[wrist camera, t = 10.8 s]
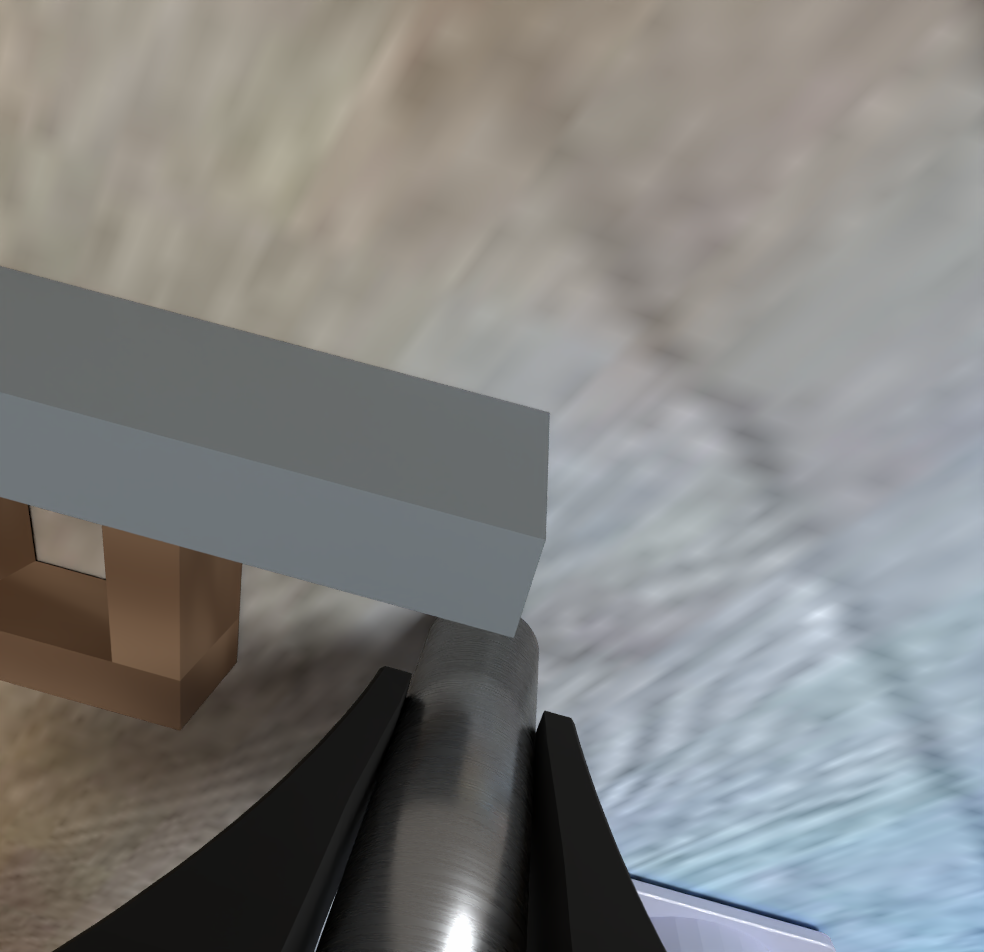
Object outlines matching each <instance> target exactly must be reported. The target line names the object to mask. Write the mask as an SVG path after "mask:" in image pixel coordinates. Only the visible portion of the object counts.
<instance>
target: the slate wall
mask: <svg viewBox="0 0 984 952" xmlns="http://www.w3.org/2000/svg"><path fill="white" fill-rule="evenodd" d="M549 417H550V413H549V412H545V411H541V410H538V409H534V408H530V407H526V406H523V405H519V404H515V403H511V402H508V401H504V400H500V399H496V398H493V397H489V396H485V395H481V394H478V393H474V392H470V391H466V390H463V389H459V388H455V387H451V386H448V385H444V384H440V383H436V382H433V381H429V380H425V379H421V378H418V377H414V376H410V375H406V374H403V373H399V372H395V371H391V370H388V369H384V368H380V367H376V366H373V365H369V364H365V363H361V362H358V361H354V360H350V359H346V358H343V357H339V356H335V355H331V354H328V353H324V352H320V351H316V350H313V349H309V348H305V347H301V346H298V345H294V344H290V343H286V342H283V341H279V340H275V339H271V338H268V337H264V336H260V335H256V334H253V333H249V332H245V331H241V330H238V329H234V328H230V327H226V326H223V325H219V324H215V323H211V322H208V321H204V320H200V319H196V318H193V317H189V316H185V315H181V314H178V313H174V312H170V311H166V310H163V309H159V308H155V307H151V306H148V305H144V304H140V303H136V302H133V301H129V300H125V299H121V298H118V297H114V296H110V295H106V294H103V293H99V292H95V291H91V290H88V289H84V288H80V287H76V286H73V285H69V284H65V283H61V282H58V281H54V280H50V279H47V278H43V277H39V276H35V275H32V274H28V273H24V272H20V271H17V270H13V269H9V268H5V267H2V266H0V497H2V498H6V499H10V500H13V501H17V502H21V503H24V504H28V505H31V506H35V507H39V508H42V509H46V510H50V511H53V512H57V513H61V514H64V515H68V516H72V517H75V518H79V519H82V520H86V521H90V522H93V523H97V524H101V525H104V526H108V527H112V528H115V529H119V530H123V531H126V532H130V533H133V534H137V535H141V536H144V537H148V538H152V539H155V540H159V541H163V542H166V543H170V544H174V545H177V546H181V547H184V548H188V549H192V550H195V551H199V552H203V553H206V554H210V555H214V556H217V557H221V558H225V559H228V560H232V561H235V562H239V563H243V564H246V565H250V566H254V567H257V568H261V569H265V570H268V571H272V572H276V573H279V574H283V575H286V576H290V577H294V578H297V579H301V580H305V581H308V582H312V583H316V584H319V585H323V586H327V587H330V588H334V589H337V590H341V591H345V592H348V593H352V594H356V595H359V596H363V597H367V598H370V599H374V600H378V601H381V602H385V603H388V604H392V605H396V606H399V607H403V608H407V609H410V610H414V611H418V612H421V613H425V614H429V615H432V616H436V617H439V618H443V619H447V620H450V621H454V622H458V623H461V624H465V625H469V626H472V627H476V628H480V629H483V630H487V631H490V632H494V633H498V634H501V635H505V636H509V637H512V638H514V636H515V633H516V629H517V626H518V623H519V620H520V617H521V614H522V611H523V608H524V605H525V602H526V599H527V596H528V593H529V590H530V587H531V584H532V580H533V577H534V574H535V571H536V568H537V565H538V562H539V559H540V556H541V553H542V550H543V547H544V544H545V541H546V514H547V482H548V450H549Z"/></svg>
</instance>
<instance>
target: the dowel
mask: <svg viewBox="0 0 984 952" xmlns="http://www.w3.org/2000/svg"><path fill="white" fill-rule="evenodd" d="M538 661H539V648H538V643H537V639H536V637H535V635H534V633H533V631H532V629H531V628H530V627H529V625H528V624H527V623H526V622H525V621H524V620H523V619H522V618H521V617H520V620H519V623H518V626H517V629H516V633H515V636H514V638H512V637H509V636H505V635H501V634H498V633H494V632H490V631H487V630H483V629H480V628H476V627H472V626H469V625H465V624H461V623H458V622H454V621H450V620H447V619H443V618H439V617H438V618H437V619H436V620H435V622H434V623H433V625H432V627H431V629H430V631H429V634H428V637H427V640H426V643H425V645H424V648H423V651H422V654H421V657H420V659H419V662H418V665H417V668H416V671H415V674H414V676H413V679H412V682H411V685H410V688H409V690H408V693H407V696H406V700H405V703H404V706H403V708H402V711H401V714H400V717H399V720H398V722H397V725H396V728H395V731H394V734H393V737H392V739H391V742H390V744H389V747H388V749H387V752H386V755H385V758H384V761H383V764H382V766H381V769H380V772H379V775H378V778H377V780H376V783H375V786H374V789H373V792H372V794H371V797H370V800H369V803H368V806H367V809H366V811H365V814H364V817H363V820H362V823H361V825H360V828H359V831H358V834H357V837H356V839H355V842H354V845H353V848H352V851H351V854H350V856H349V859H348V862H347V865H346V868H345V870H344V873H343V876H342V879H341V882H340V885H339V887H338V890H337V893H336V896H335V899H334V901H333V904H332V907H331V910H330V913H329V915H328V918H327V921H326V924H325V927H324V930H323V932H322V935H321V938H320V941H319V944H318V946H317V949H316V952H526V948H527V924H528V900H529V876H530V852H531V829H532V805H533V781H534V757H535V733H536V709H537V685H538Z"/></svg>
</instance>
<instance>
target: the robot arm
mask: <svg viewBox="0 0 984 952" xmlns="http://www.w3.org/2000/svg"><path fill="white" fill-rule="evenodd" d="M411 675H412V674H411V673H408V672H404V671H400V670H397V669H393V668H390V667H386V666H385V667H383V668H381V669H379V671H378V672H377V674H376V675H375V677H374V678H373V680H372V681H371V682H370V684H369V685H368V687H367V688H366V689H365V690H364V692H363V693H362V694H361V696H360V697H359V698H358V699H357V701H356V702H355V703H354V704H353V705H352V706H351V708H350V709H349V710H348V711H347V712H346V714H345V715H344V716H343V717H342V718H341V719H340V720H339V721H338V722H337V724H336V725H335V726H334V727H333V728H332V729H331V730H330V731H329V732H328V733H327V735H326V736H325V737H324V738H323V739H322V740H321V741H320V742H319V743H318V744H317V745H316V746H315V747H314V748H313V749H312V750H311V751H310V752H309V753H308V754H307V755H306V756H305V757H304V758H303V759H302V760H301V761H300V762H299V763H298V764H297V765H296V766H295V767H294V768H293V769H292V770H291V771H290V772H289V773H288V774H287V775H286V776H285V777H284V778H283V779H282V780H281V781H280V782H278V783H277V784H276V785H275V786H274V787H273V788H272V789H271V790H270V791H269V792H268V793H266V794H265V795H264V796H263V797H262V798H261V799H260V800H259V801H257V802H256V803H255V804H254V805H253V806H252V807H250V808H249V809H248V810H247V811H246V812H245V813H244V814H242V815H241V816H240V817H239V818H238V819H236V820H235V821H234V822H233V823H232V824H230V825H229V826H228V827H227V828H225V829H224V830H223V831H222V832H220V833H219V834H218V835H217V836H215V837H214V838H213V839H212V840H210V841H209V842H208V843H207V844H206V845H204V846H203V847H202V848H201V849H199V850H198V851H197V852H195V853H194V854H193V855H191V856H190V857H189V858H188V859H186V860H185V861H184V862H182V863H181V864H180V865H178V866H177V867H176V868H174V869H173V870H171V871H170V872H169V873H167V874H166V875H164V876H163V877H162V878H160V879H159V880H157V881H156V882H155V883H153V884H152V885H150V886H149V887H148V888H146V889H145V890H143V891H142V892H141V893H139V894H138V895H136V896H135V897H134V898H132V899H131V900H129V901H128V902H127V903H125V904H124V905H122V906H121V907H120V908H118V909H117V910H115V911H114V912H112V913H111V914H109V915H108V916H106V917H105V918H103V919H102V920H101V921H99V922H98V923H96V924H94V925H93V926H91V927H90V928H88V929H87V930H85V931H84V932H82V933H80V934H79V935H77V936H76V937H74V938H73V939H71V940H70V941H68V942H66V943H65V944H63V945H62V946H60V947H59V948H57V949H56V950H54V951H52V952H314V950H315V947H316V944H317V942H318V939H319V936H320V933H321V930H322V927H323V925H324V922H325V920H326V917H327V914H328V912H329V909H330V907H331V904H332V902H333V899H334V897H335V895H336V892H337V890H338V887H339V885H340V882H341V879H342V876H343V873H344V870H345V868H346V865H347V862H348V859H349V856H350V854H351V851H352V848H353V845H354V842H355V839H356V837H357V834H358V831H359V828H360V825H361V823H362V820H363V817H364V814H365V811H366V809H367V806H368V803H369V800H370V797H371V794H372V792H373V789H374V786H375V783H376V780H377V778H378V775H379V772H380V769H381V766H382V764H383V761H384V758H385V755H386V752H387V749H388V747H389V744H390V742H391V739H392V737H393V734H394V731H395V728H396V725H397V722H398V720H399V717H400V714H401V711H402V708H403V706H404V703H405V700H406V696H407V692H408V688H409V684H410V679H411ZM526 952H836V950H835V947H834V945H833V943H832V940H831V938H830V937H829V936H828V935H826V934H824V933H822V932H819V931H816V930H812V929H809V928H805V927H801V926H798V925H794V924H791V923H787V922H784V921H780V920H777V919H773V918H769V917H766V916H762V915H759V914H755V913H752V912H748V911H745V910H741V909H737V908H734V907H730V906H727V905H723V904H720V903H716V902H713V901H709V900H705V899H702V898H698V897H695V896H691V895H688V894H684V893H681V892H677V891H673V890H670V889H666V888H663V887H659V886H656V885H652V884H649V883H645V882H641V881H638V880H634V879H631V877H630V875H629V873H628V870H627V868H626V866H625V863H624V861H623V859H622V856H621V854H620V852H619V849H618V847H617V845H616V842H615V840H614V837H613V835H612V832H611V830H610V827H609V825H608V822H607V819H606V817H605V814H604V812H603V809H602V806H601V804H600V801H599V798H598V796H597V793H596V790H595V787H594V785H593V782H592V779H591V776H590V773H589V770H588V767H587V764H586V761H585V758H584V755H583V751H582V748H581V745H580V742H579V738H578V735H577V731H576V728H575V724H574V722H573V720H572V719H571V718H569V717H566V716H562V715H558V714H555V713H551V712H548V711H544V713H543V715H542V718H541V720H540V723H539V726H538V728H537V731H536V733H535V757H534V781H533V805H532V829H531V852H530V876H529V900H528V924H527V948H526Z"/></svg>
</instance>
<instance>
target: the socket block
mask: <svg viewBox="0 0 984 952" xmlns="http://www.w3.org/2000/svg"><path fill="white" fill-rule="evenodd" d="M102 533H103V546H104V559H105V572H106V580H103V579H99V578H96V577H92V576H88V575H85V574H81V573H77V572H74V571H70V570H67V569H63V568H59V567H56V566H52V565H49V564H45V563H41V562H38V561H35V554H34V546H33V539H32V532H31V525H30V518H29V511H28V504H24V503H21V502H17V501H13V500H10V499H6V498H2V497H0V680H2V681H5V682H9V683H12V684H16V685H20V686H23V687H27V688H30V689H34V690H37V691H41V692H45V693H48V694H52V695H55V696H59V697H62V698H66V699H69V700H73V701H77V702H80V703H84V704H87V705H91V706H94V707H98V708H102V709H105V710H109V711H112V712H116V713H119V714H123V715H126V716H130V717H134V718H137V719H141V720H144V721H148V722H151V723H155V724H159V725H162V726H166V727H169V728H173V729H176V730H180V731H181V729H182V728H183V727H184V726H185V724H186V723H187V722H188V721H189V720H190V718H191V717H192V716H193V715H194V714H195V712H196V711H197V710H198V709H199V707H200V706H201V705H202V704H203V703H204V701H205V700H206V699H207V698H208V697H209V695H210V694H211V693H212V692H213V690H214V689H215V688H216V687H217V686H218V684H219V683H220V682H221V681H222V680H223V678H224V677H225V676H226V675H227V673H228V672H229V671H230V670H231V669H232V667H233V666H234V665H235V664H236V663H237V649H238V629H239V610H240V591H241V572H242V563H239V562H235V561H232V560H228V559H225V558H221V557H217V556H214V555H210V554H206V553H203V552H199V551H195V550H192V549H188V548H184V547H181V546H177V545H174V544H170V543H166V542H163V541H159V540H155V539H152V538H148V537H144V536H141V535H137V534H133V533H130V532H126V531H123V530H119V529H115V528H112V527H108V526H104V525H102Z"/></svg>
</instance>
